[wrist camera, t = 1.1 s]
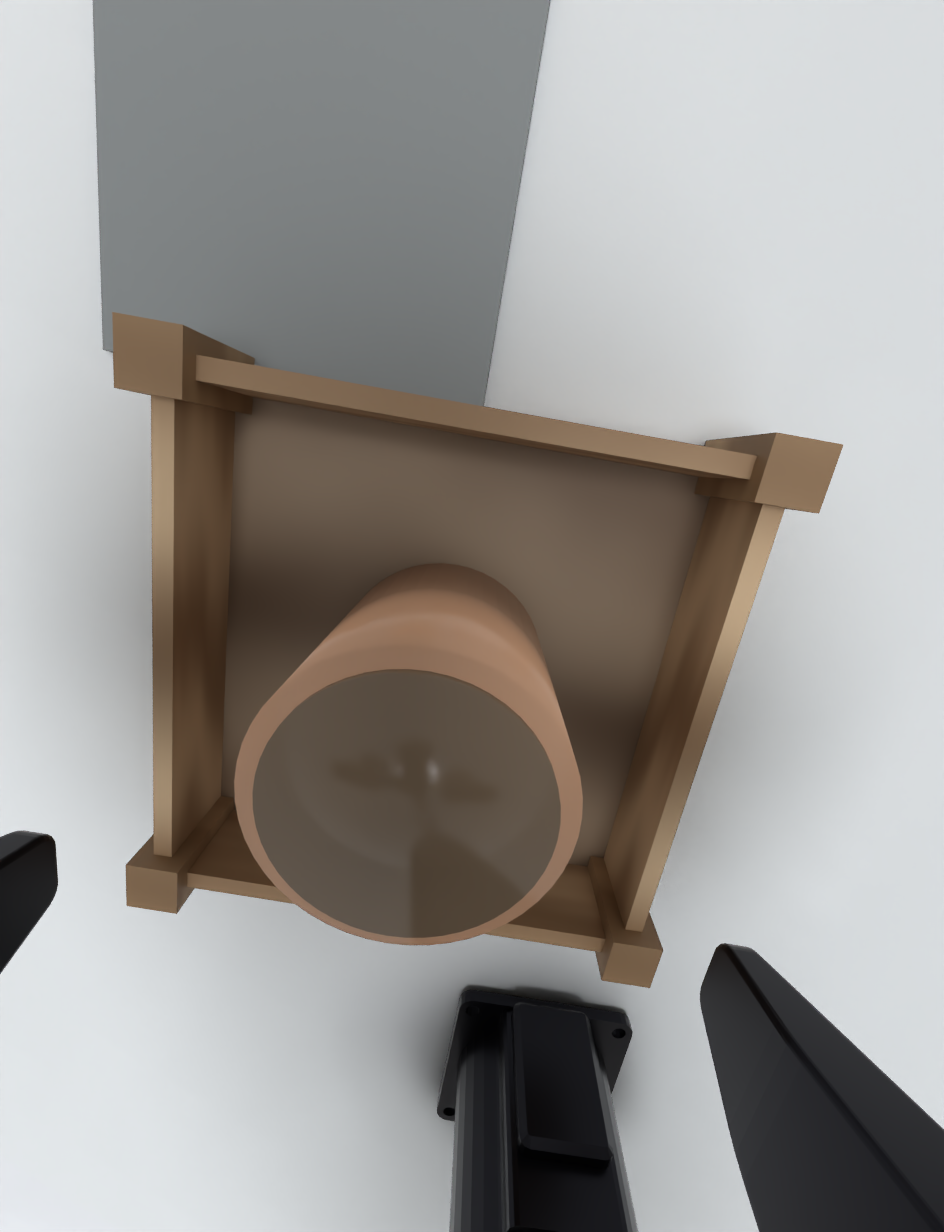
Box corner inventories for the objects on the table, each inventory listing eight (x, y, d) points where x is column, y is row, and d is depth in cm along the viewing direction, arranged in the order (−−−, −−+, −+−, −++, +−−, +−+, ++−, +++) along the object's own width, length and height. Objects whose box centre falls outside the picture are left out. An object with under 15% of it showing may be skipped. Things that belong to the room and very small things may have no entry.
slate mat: (480, 418, 14) (481, 417, 14) (108, 350, 14) (102, 349, 13) (562, -74, 11) (563, -83, 11) (94, -168, 11) (87, -179, 11)
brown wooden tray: (619, 890, 18) (649, 987, 15) (195, 822, 18) (126, 905, 14) (756, 449, 14) (843, 444, 11) (204, 350, 14) (112, 312, 10)
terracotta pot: (519, 763, 17) (543, 976, 10) (333, 732, 16) (223, 927, 9) (559, 582, 15) (624, 684, 8) (353, 546, 15) (235, 619, 8)
